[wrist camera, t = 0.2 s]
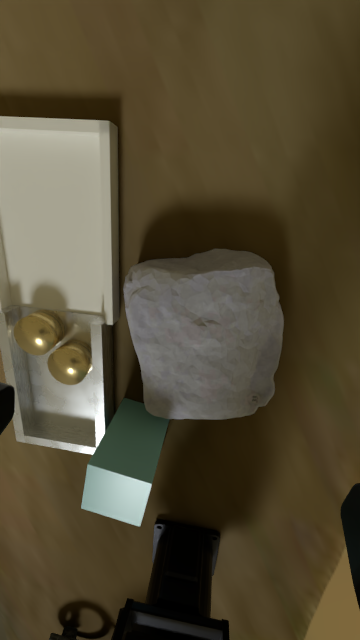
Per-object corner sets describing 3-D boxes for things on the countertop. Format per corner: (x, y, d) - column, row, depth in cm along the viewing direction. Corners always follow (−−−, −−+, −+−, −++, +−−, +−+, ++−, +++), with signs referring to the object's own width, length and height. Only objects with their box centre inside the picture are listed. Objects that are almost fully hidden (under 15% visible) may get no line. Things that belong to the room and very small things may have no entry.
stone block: (263, 238, 20) (122, 258, 20) (291, 247, 16) (111, 273, 16) (267, 380, 25) (151, 397, 25) (290, 419, 20) (148, 440, 20)
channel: (114, 438, 26) (105, 456, 25) (31, 424, 27) (16, 441, 25) (112, 314, 22) (101, 325, 20) (13, 303, 23) (-6, 311, 21)
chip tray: (119, 318, 22) (112, 325, 21) (7, 305, 23) (-6, 310, 22) (117, 127, 18) (109, 120, 16) (-21, 121, 19) (-40, 114, 17)
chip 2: (96, 375, 24) (86, 387, 22) (61, 370, 24) (49, 382, 22) (95, 341, 23) (84, 352, 21) (58, 337, 23) (45, 347, 21)
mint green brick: (161, 448, 26) (139, 526, 20) (116, 434, 26) (81, 508, 20) (171, 411, 25) (151, 484, 18) (123, 397, 25) (87, 464, 18)
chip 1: (66, 347, 23) (54, 357, 22) (31, 342, 24) (16, 352, 22) (63, 311, 22) (50, 320, 20) (26, 307, 22) (10, 315, 21)
